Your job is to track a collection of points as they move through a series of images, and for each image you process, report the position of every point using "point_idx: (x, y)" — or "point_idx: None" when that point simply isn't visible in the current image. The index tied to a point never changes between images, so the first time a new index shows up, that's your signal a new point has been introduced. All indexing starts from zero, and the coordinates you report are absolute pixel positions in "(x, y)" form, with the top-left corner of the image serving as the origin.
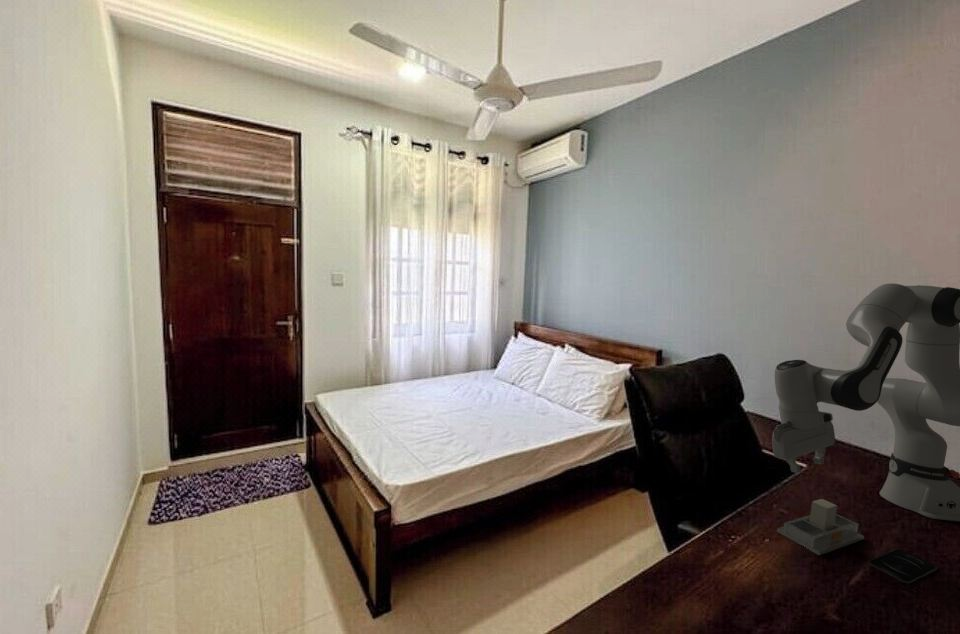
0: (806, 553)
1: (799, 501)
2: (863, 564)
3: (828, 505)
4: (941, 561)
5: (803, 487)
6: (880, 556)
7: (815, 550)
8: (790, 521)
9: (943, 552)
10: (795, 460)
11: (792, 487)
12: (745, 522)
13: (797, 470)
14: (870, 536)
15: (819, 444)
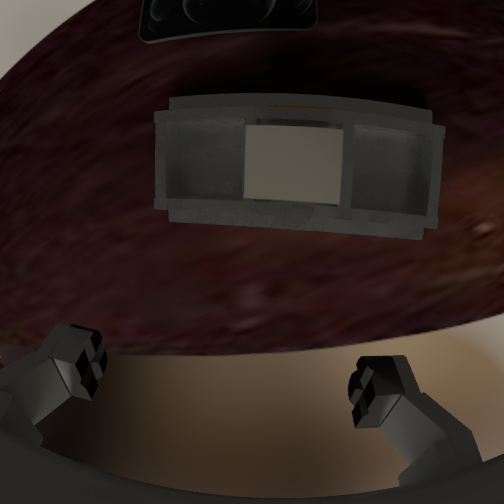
0: (450, 136)
1: (138, 299)
2: (337, 33)
3: (295, 144)
4: (104, 5)
5: None
6: (241, 29)
7: (430, 122)
8: (408, 222)
9: (60, 33)
10: (448, 442)
11: None
12: (447, 304)
13: (406, 367)
14: (135, 105)
15: (12, 499)
